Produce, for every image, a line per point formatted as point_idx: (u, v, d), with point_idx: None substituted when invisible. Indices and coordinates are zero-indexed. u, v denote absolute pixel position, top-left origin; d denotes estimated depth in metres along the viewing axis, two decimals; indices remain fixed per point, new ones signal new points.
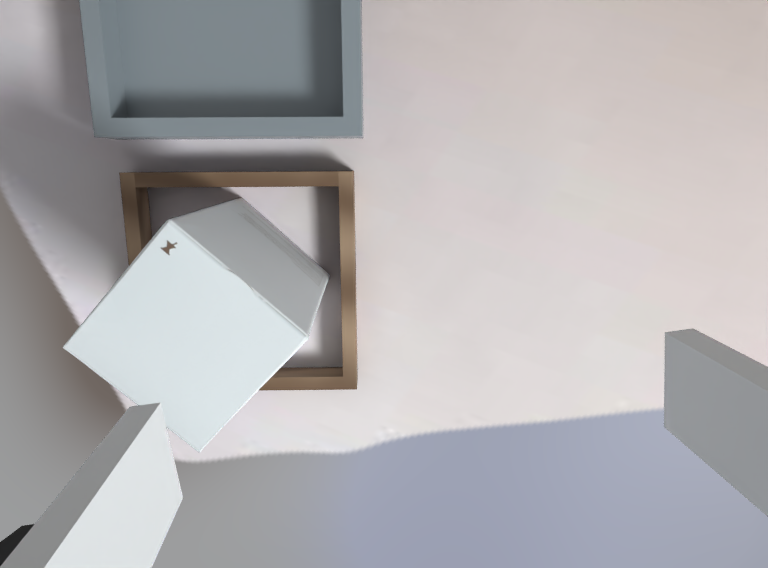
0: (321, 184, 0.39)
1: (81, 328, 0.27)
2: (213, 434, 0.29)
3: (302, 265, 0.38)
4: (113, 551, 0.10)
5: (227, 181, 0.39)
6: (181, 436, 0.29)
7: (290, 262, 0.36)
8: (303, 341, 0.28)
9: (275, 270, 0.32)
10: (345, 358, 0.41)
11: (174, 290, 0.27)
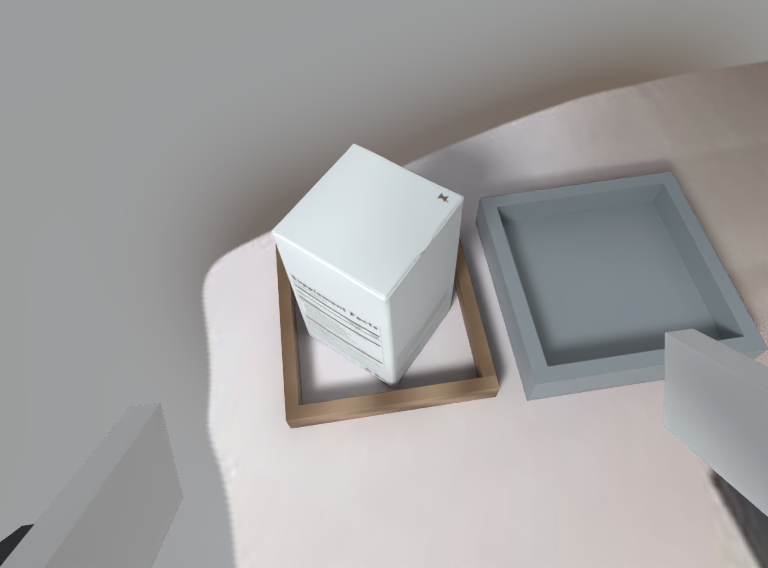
0: (481, 362, 0.43)
1: (370, 152, 0.37)
2: (289, 238, 0.34)
3: (410, 346, 0.41)
4: (113, 551, 0.10)
5: (465, 289, 0.46)
6: (286, 217, 0.34)
7: (416, 328, 0.40)
8: (381, 295, 0.31)
9: (419, 298, 0.37)
10: (318, 405, 0.41)
11: (410, 203, 0.35)
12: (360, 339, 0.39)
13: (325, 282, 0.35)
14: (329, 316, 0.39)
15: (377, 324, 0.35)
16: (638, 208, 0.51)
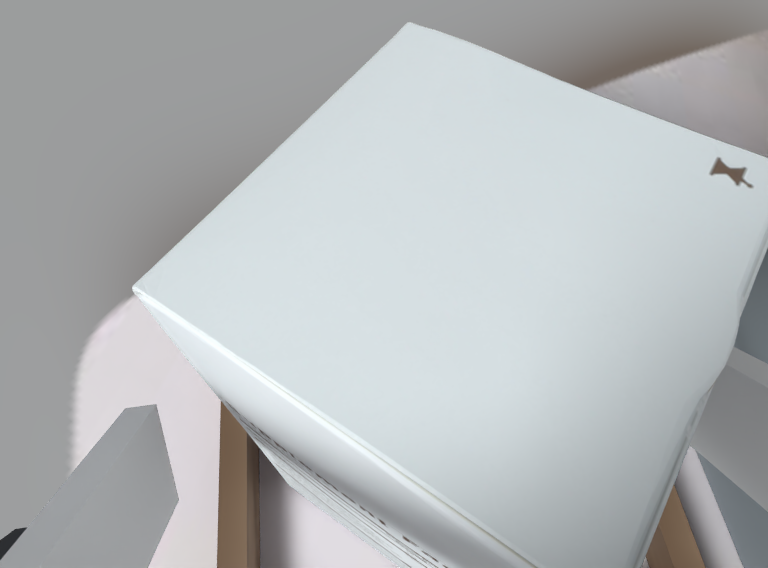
0: None
1: (462, 40, 0.12)
2: (192, 318, 0.09)
3: None
4: (107, 555, 0.10)
5: None
6: (189, 238, 0.10)
7: None
8: None
9: None
10: None
11: (622, 189, 0.10)
12: (417, 564, 0.15)
13: (327, 464, 0.10)
14: (335, 501, 0.14)
15: None
16: None
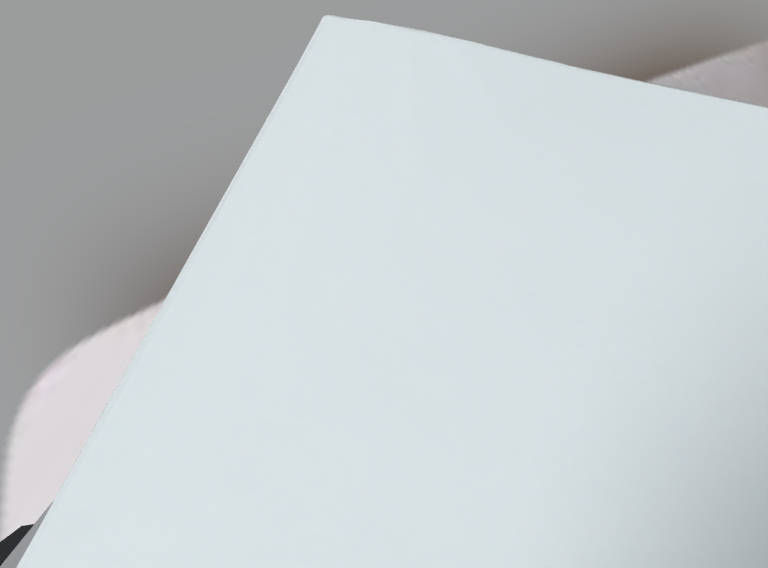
0: None
1: (419, 32, 0.08)
2: None
3: None
4: None
5: None
6: (53, 523, 0.05)
7: None
8: None
9: None
10: None
11: (753, 235, 0.06)
12: None
13: None
14: None
15: None
16: None
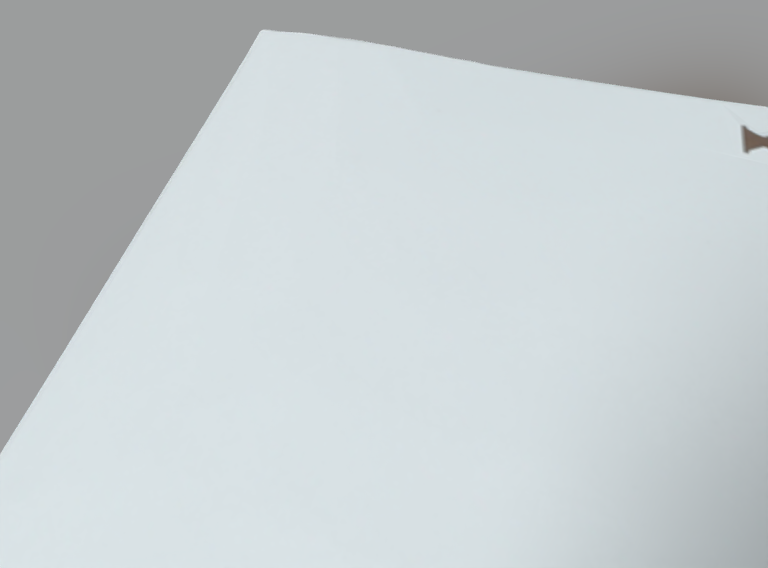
0: None
1: (346, 40, 0.09)
2: None
3: None
4: None
5: None
6: None
7: None
8: None
9: None
10: None
11: (647, 205, 0.07)
12: None
13: None
14: None
15: None
16: None
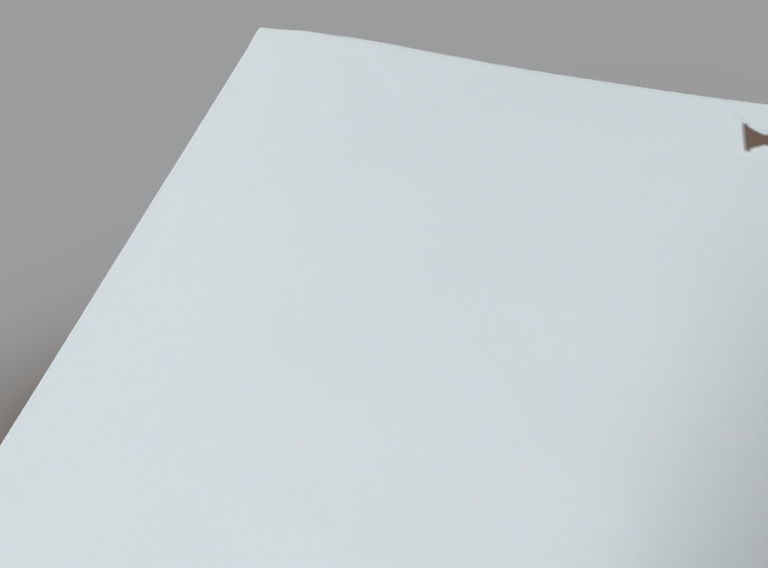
0: None
1: (344, 38, 0.09)
2: None
3: None
4: None
5: None
6: None
7: None
8: None
9: None
10: None
11: (647, 203, 0.07)
12: None
13: None
14: None
15: None
16: None
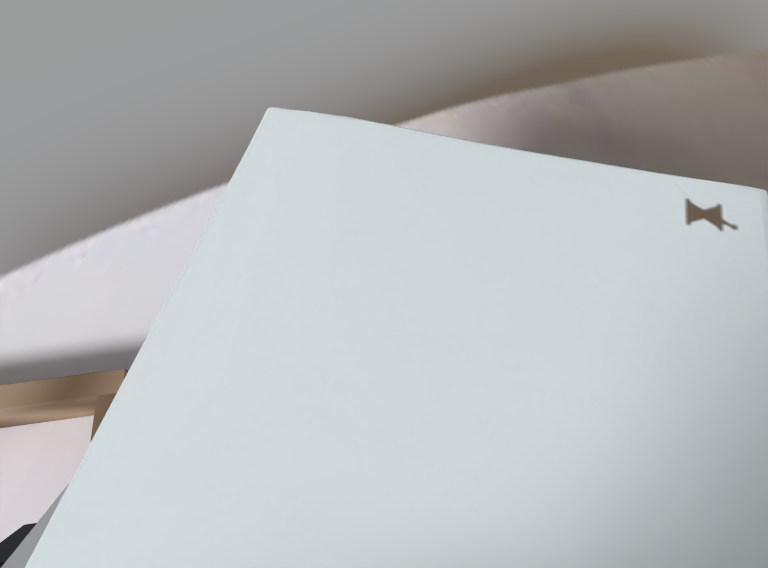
0: None
1: (344, 119, 0.10)
2: None
3: None
4: None
5: None
6: (55, 526, 0.07)
7: None
8: None
9: None
10: None
11: (602, 274, 0.08)
12: None
13: None
14: None
15: None
16: None
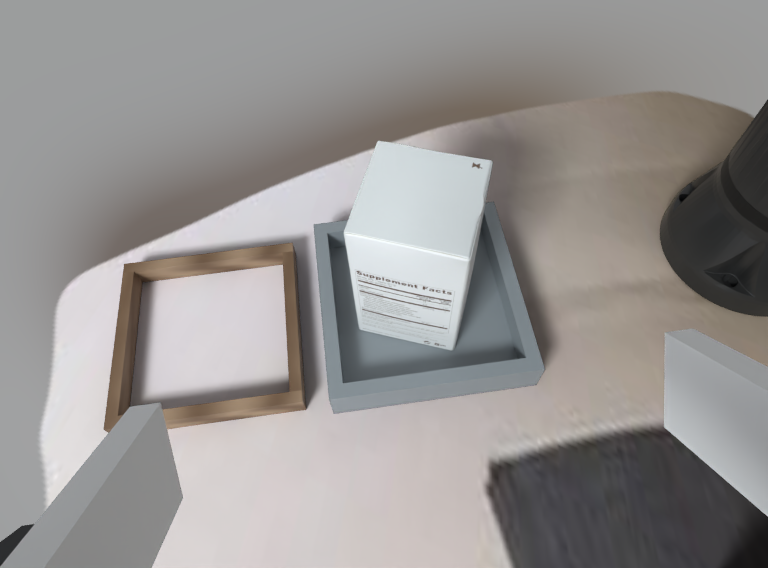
0: (290, 378, 0.47)
1: (397, 144, 0.41)
2: (363, 233, 0.37)
3: (464, 307, 0.46)
4: (113, 551, 0.10)
5: (289, 310, 0.50)
6: (351, 217, 0.38)
7: (468, 289, 0.45)
8: (464, 257, 0.36)
9: (474, 259, 0.42)
10: None
11: (452, 177, 0.39)
12: (427, 312, 0.43)
13: (400, 265, 0.38)
14: (395, 299, 0.43)
15: (453, 289, 0.39)
16: None
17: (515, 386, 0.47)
